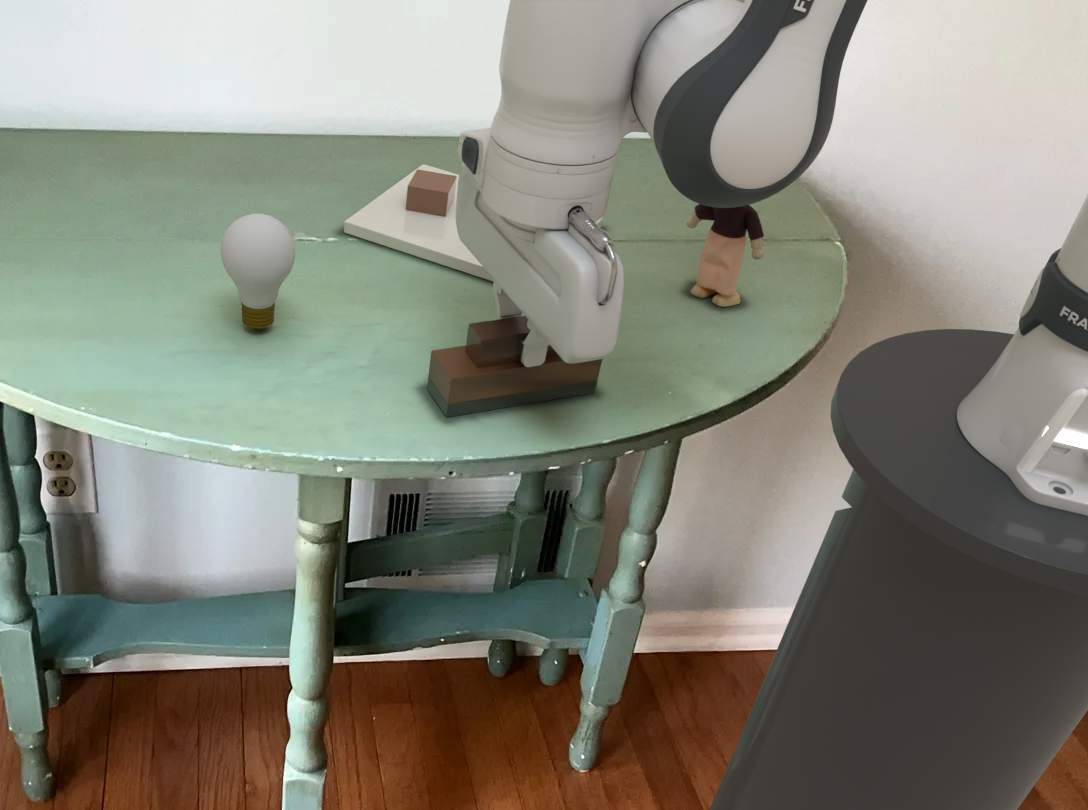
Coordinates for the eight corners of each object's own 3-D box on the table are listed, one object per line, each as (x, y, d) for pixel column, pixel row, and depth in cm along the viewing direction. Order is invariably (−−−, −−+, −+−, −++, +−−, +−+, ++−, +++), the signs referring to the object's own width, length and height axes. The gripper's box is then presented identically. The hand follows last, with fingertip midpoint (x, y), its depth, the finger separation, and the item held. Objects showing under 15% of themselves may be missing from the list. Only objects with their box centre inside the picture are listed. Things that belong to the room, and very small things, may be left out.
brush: (572, 366, 98) (585, 300, 94) (595, 392, 95) (610, 326, 91) (426, 389, 94) (434, 322, 90) (446, 417, 91) (454, 350, 87)
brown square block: (454, 199, 117) (456, 175, 115) (445, 217, 114) (448, 192, 112) (414, 192, 118) (416, 168, 116) (405, 210, 115) (407, 185, 113)
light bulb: (304, 320, 101) (308, 210, 94) (274, 354, 96) (276, 241, 90) (242, 304, 102) (241, 194, 95) (209, 336, 98) (206, 224, 91)
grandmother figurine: (756, 299, 108) (798, 166, 100) (742, 316, 106) (784, 181, 97) (678, 272, 111) (712, 140, 103) (662, 288, 109) (696, 154, 100)
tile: (600, 228, 117) (603, 217, 116) (535, 296, 106) (537, 284, 105) (421, 174, 124) (423, 163, 123) (343, 232, 113) (344, 221, 112)
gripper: (663, 243, 77) (620, 418, 86) (525, 118, 91) (500, 280, 100) (576, 254, 75) (542, 431, 84) (449, 125, 89) (431, 289, 98)
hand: (518, 348), depth 92 cm, fingers closed on brush, 2 cm apart
